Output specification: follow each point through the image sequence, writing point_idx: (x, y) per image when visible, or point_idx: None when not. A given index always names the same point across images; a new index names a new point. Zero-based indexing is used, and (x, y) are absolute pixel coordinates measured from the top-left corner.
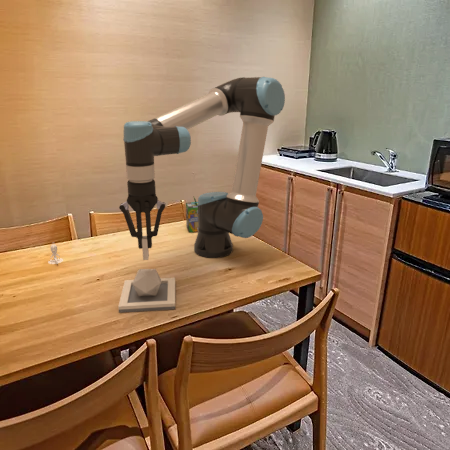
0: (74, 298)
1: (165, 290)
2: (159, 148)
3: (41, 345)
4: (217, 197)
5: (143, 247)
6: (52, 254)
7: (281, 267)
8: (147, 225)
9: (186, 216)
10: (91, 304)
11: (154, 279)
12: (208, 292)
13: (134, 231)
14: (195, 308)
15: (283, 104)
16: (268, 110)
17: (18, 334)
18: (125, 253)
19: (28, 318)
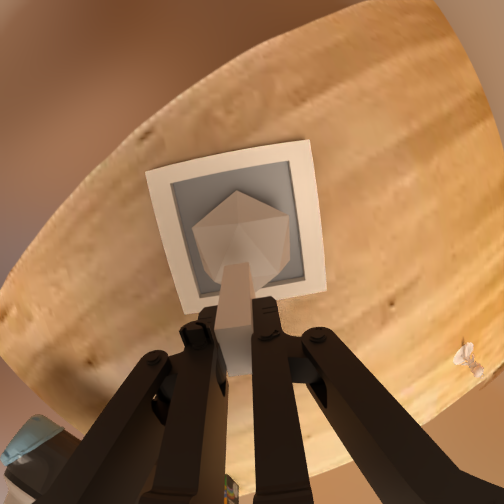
0: (426, 211)
1: (196, 254)
2: None
3: (416, 35)
4: None
5: (243, 295)
6: (473, 360)
7: (21, 358)
8: (192, 413)
9: (237, 501)
10: (385, 182)
11: (208, 229)
12: (94, 263)
13: (312, 364)
14: (104, 183)
15: None
16: None
17: (466, 80)
18: None
19: (474, 133)
